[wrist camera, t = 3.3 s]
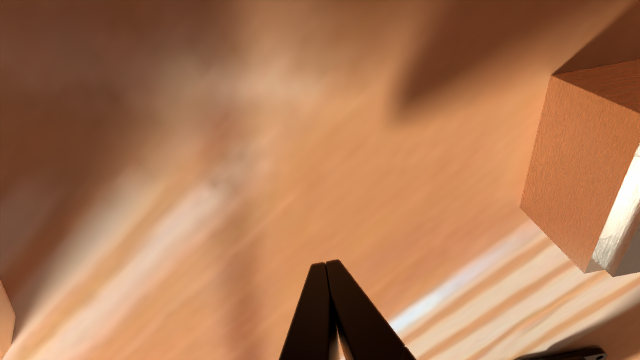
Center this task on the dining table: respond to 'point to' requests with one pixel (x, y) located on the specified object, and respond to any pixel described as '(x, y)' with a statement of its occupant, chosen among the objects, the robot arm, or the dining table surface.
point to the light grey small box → (589, 168)
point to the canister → (5, 322)
